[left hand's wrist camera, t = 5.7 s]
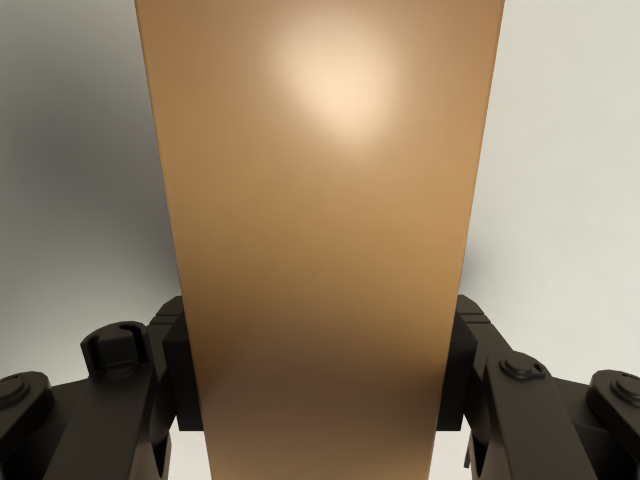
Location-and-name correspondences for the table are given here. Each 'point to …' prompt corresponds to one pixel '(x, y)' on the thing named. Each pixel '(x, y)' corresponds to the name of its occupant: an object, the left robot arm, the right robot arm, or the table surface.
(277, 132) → the wooden beam
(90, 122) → the table surface
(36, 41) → the table surface
